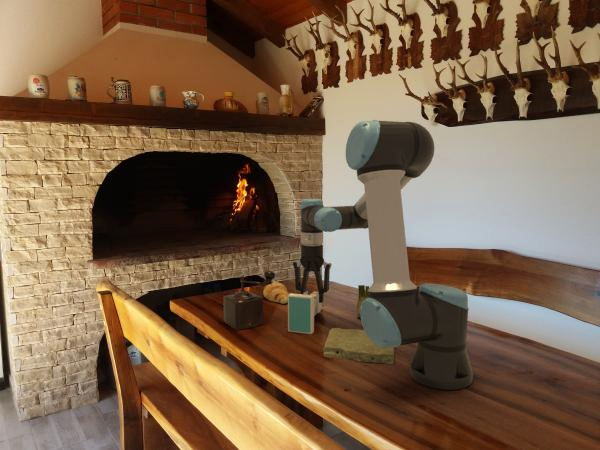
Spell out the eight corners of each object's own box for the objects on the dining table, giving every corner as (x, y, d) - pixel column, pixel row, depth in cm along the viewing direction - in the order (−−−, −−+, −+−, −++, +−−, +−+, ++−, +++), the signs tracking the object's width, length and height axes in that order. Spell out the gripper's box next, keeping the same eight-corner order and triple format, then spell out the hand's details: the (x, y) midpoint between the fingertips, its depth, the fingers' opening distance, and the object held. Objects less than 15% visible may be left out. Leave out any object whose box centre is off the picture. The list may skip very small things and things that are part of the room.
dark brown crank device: (237, 331, 147) (236, 277, 145) (222, 322, 156) (221, 271, 154) (278, 322, 156) (277, 270, 154) (261, 313, 165) (261, 265, 163)
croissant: (292, 313, 177) (301, 294, 178) (271, 304, 172) (280, 285, 173) (271, 298, 196) (279, 281, 196) (252, 290, 191) (260, 272, 192)
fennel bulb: (375, 320, 158) (375, 286, 156) (363, 322, 156) (363, 288, 154) (365, 315, 163) (366, 282, 161) (354, 317, 161) (354, 284, 159)
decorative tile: (330, 336, 144) (330, 325, 143) (394, 340, 140) (395, 329, 139) (320, 360, 126) (320, 348, 125) (394, 366, 122) (394, 353, 121)
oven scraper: (311, 321, 147) (311, 306, 146) (294, 319, 149) (294, 304, 148) (327, 306, 164) (327, 292, 163) (311, 304, 166) (311, 291, 165)
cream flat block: (311, 334, 144) (311, 297, 143) (288, 331, 147) (287, 295, 146) (314, 331, 147) (313, 295, 145) (290, 328, 150) (290, 293, 148)
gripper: (284, 244, 154) (285, 311, 157) (333, 247, 148) (333, 316, 151) (292, 241, 161) (293, 305, 164) (339, 243, 155) (338, 310, 158)
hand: (312, 310), depth 157 cm, fingers closed on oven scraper, 4 cm apart
